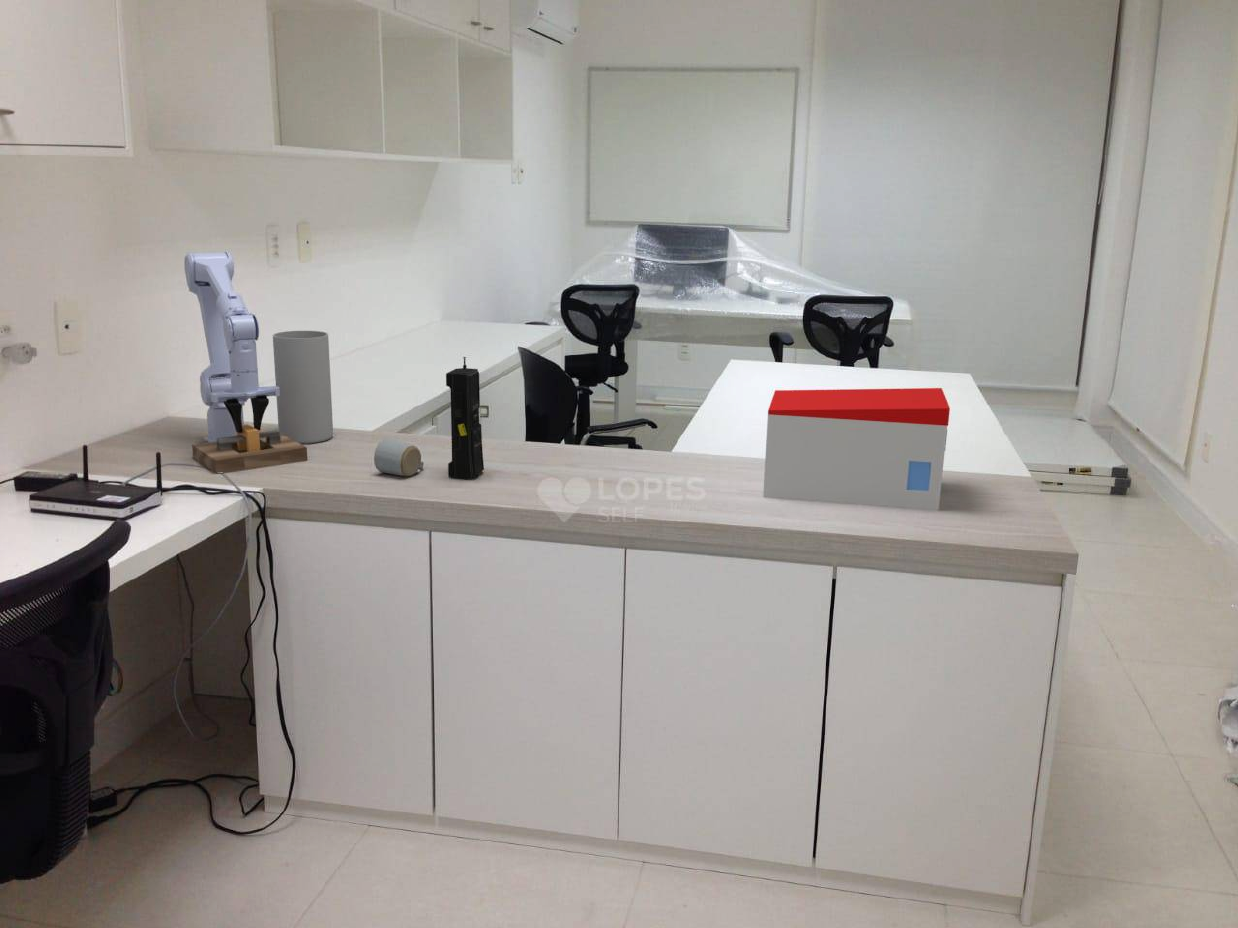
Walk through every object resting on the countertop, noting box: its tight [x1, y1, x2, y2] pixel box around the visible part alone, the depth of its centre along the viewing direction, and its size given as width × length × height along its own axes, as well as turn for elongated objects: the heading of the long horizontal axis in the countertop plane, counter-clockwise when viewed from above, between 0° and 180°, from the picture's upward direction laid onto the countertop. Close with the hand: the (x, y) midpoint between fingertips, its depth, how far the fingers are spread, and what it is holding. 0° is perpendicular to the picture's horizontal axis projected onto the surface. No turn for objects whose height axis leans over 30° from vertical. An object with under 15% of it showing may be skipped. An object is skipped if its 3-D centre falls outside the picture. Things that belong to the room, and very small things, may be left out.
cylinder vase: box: [272, 330, 334, 445], centre depth 260 cm, size 12×12×25 cm
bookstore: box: [762, 387, 951, 512], centre depth 228 cm, size 21×35×21 cm, turn 78°
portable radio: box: [445, 356, 485, 481], centre depth 231 cm, size 8×6×25 cm
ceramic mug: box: [373, 438, 424, 477], centre depth 235 cm, size 10×8×7 cm
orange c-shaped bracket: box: [236, 423, 260, 452], centre depth 243 cm, size 7×2×6 cm, turn 37°
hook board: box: [191, 430, 309, 475], centre depth 243 cm, size 16×20×6 cm
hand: (248, 431), depth 242 cm, fingers open, 3 cm apart
